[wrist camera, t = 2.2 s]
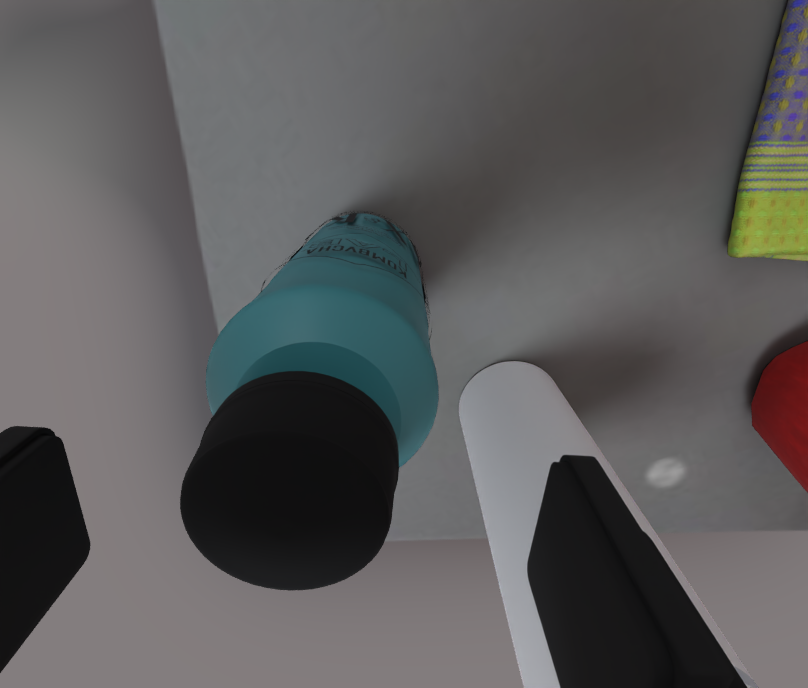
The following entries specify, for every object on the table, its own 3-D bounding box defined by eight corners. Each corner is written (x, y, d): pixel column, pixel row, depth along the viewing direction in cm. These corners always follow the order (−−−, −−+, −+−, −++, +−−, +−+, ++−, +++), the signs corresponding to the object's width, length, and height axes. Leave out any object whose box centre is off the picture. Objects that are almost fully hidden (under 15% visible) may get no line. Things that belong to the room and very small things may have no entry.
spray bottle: (575, 414, 31) (1100, 1199, 8) (490, 461, 32) (725, 1239, 9) (527, 340, 28) (1069, 1141, 6) (438, 395, 30) (580, 1204, 7)
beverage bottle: (422, 312, 28) (476, 640, 9) (313, 319, 28) (152, 658, 9) (417, 200, 25) (477, 350, 7) (297, 208, 25) (29, 377, 7)
